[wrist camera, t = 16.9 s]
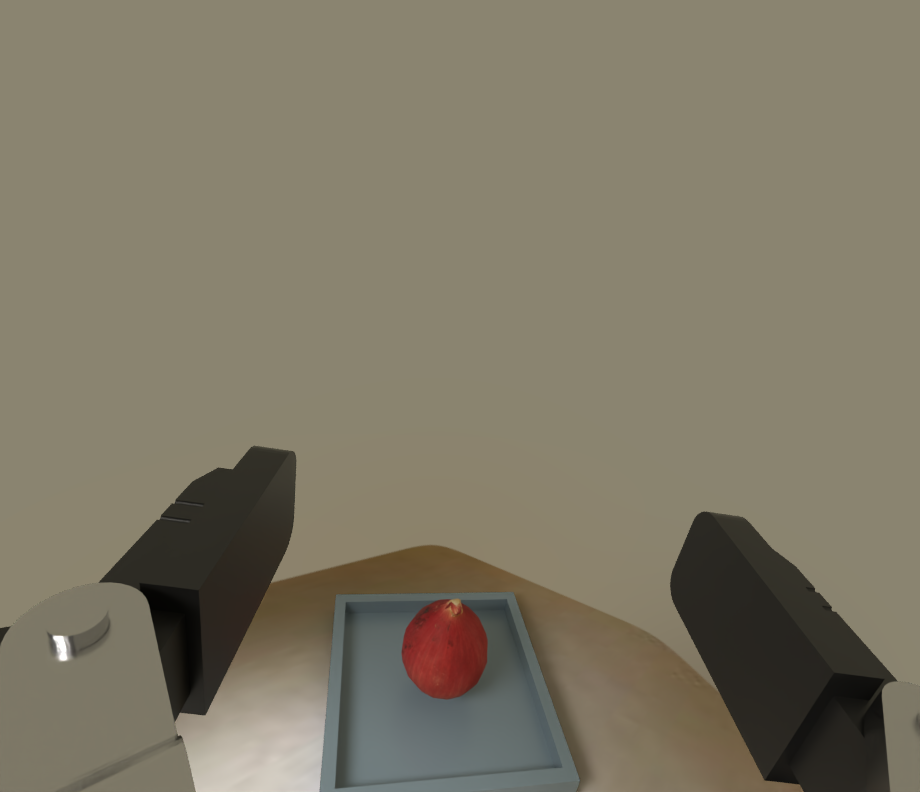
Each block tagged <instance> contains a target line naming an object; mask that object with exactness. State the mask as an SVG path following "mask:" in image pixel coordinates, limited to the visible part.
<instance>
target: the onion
mask: <svg viewBox="0 0 920 792" xmlns="http://www.w3.org/2000/svg"><path fill="white" fill-rule="evenodd" d="M487 647H488V639H487V635H486V632H485V630H484V628H483V626H482V623H481V621H480V619H479V617H478V616H477V615H476V614H475V613H474V612H473V611H472V610H471V609H470V608H469V607H468V606H466V605H464V604H463V603H461V599H452V600H451V599H443V600H437V601H435V602H433V603H431V604H429V605H427V606H425V607H423V608H422V609H421V610H420V611H419V612H418V613H417V614H416V615H415V617H414V618H413V619H412V621H411V622H410V623H409V625H408V626H407V628H406V630H405V634H404V639H403V645H402V652H401V653H402V661H403V664H404V667H405V669H406V672H407V674H408V677H409V678H410V679H411V680H412V681H413V682H414V684H415V685H416V686H417V687H418V688H419V689H420V690H421V691H422V692H423V693H425V694H427V695H429V696H431V697H432V698H438V699H446V700H448V699H452V698H456V697H460V696H462V695H463V694H465V693H466V692H467V691H469V690H470V689H471V688H473V687H474V686H475V685H476V684H477V683H478V681H479V679H480V677H481V675H482V673H483V671H484V669H485V666H486V664H487Z"/></svg>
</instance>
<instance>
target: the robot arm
mask: <svg viewBox="0 0 920 792" xmlns="http://www.w3.org/2000/svg"><path fill="white" fill-rule="evenodd" d="M295 479H296V455H295V453H294V452H293V451H287V450H279V449H273V448H266V447H259V446H253V447H251V448H250V449H249V450H248V452H247V453H246V454H245V455H244V456H243V458H242V459H241V460H240V461H239V463H238V464H237V465H236V466H235V468H234V469H233V470H232V469H224V468H217V469H215V470H213V471H211V472H209V473H208V474H206V475H204V476H202V477H200V478H198V479H196V480H195V481H193V482H192V483H191V484H190V485H189V486H188V487H187V488H186V489H185V490H184V491H183V493H181V495H180V496H179V497H178V498H177V499H176V501H175V504H171V505H170V506H169V507H168V509H167V510H166V511H165V512H164V513H163V514H162V515H161V518H160V520H156V521H155V523H154V524H153V525H152V526H151V527H150V528H149V529H148V530H147V531H146V532H145V533H144V534H143V535H142V536H141V538H140V539H139V540H138V541H137V542H136V543H135V544H134V545H133V546H132V547H131V548H130V549H129V550H128V552H127V553H126V554H125V555H124V556H123V557H122V558H121V559H120V560H119V561H118V562H117V563H116V564H115V566H114V567H113V568H112V569H111V570H110V571H109V572H108V573H107V574H106V575H105V576H104V577H103V578H102V580H101V581H100V582H99V583H94V584H88V585H83V586H78V587H75V588H72V589H69V590H66V591H63V592H61V593H58V594H56V595H53V596H51V597H49V598H48V599H46V600H44V601H42V602H40V603H39V604H37V605H35V606H34V607H33V608H31V609H29V610H28V611H27V612H26V613H24V614H23V615H22V616H21V617H20V618H19V619H18V620H17V621H16V622H15V623H14V624H13V625H12V626H11V627H4V628H0V792H196V791H195V787H194V782H193V778H192V773H191V769H190V765H189V760H188V756H187V752H186V748H185V745H184V742H183V739H182V737H181V736H178V735H177V731H176V727H175V721H176V719H177V717H178V715H179V713H188V714H197V715H206V713H207V711H208V709H209V707H210V705H211V703H212V701H213V699H214V697H215V695H216V693H217V691H218V689H219V687H220V684H221V682H222V680H223V678H224V676H225V674H226V672H227V670H228V668H229V666H230V664H231V662H232V660H233V658H234V656H235V654H236V652H237V650H238V648H239V646H240V644H241V642H242V640H243V638H244V636H245V634H246V631H247V629H248V627H249V625H250V623H251V621H252V619H253V617H254V615H255V613H256V611H257V609H258V607H259V605H260V603H261V601H262V599H263V597H264V595H265V593H266V591H267V589H268V587H269V585H270V583H271V581H272V578H273V576H274V574H275V572H276V570H277V568H278V566H279V564H280V562H281V560H282V558H283V556H284V554H285V552H286V550H287V547H288V544H289V541H290V537H291V533H292V528H293V522H294V503H295ZM670 587H671V596H672V600H673V602H674V604H675V607H676V609H677V611H678V613H679V614H680V617H681V619H682V620H683V622H684V624H685V626H686V628H687V630H688V632H689V634H690V636H691V638H692V640H693V642H694V644H695V645H696V648H697V649H698V652H699V654H700V655H701V657H702V659H703V661H704V663H705V665H706V667H707V669H708V671H709V673H710V675H711V677H712V679H713V681H714V683H715V685H716V687H717V689H718V691H719V693H720V694H721V696H722V698H723V700H724V702H725V704H726V706H727V708H728V710H729V712H730V714H731V716H732V718H733V720H734V722H735V724H736V726H737V728H738V730H739V731H740V733H741V735H742V737H743V739H744V741H745V743H746V745H747V747H748V749H749V751H750V753H751V755H752V757H753V759H754V761H755V763H756V765H757V766H758V768H759V770H760V772H761V774H762V776H763V778H764V780H765V781H774V782H783V783H792V784H800V786H801V787H802V789H803V791H804V792H920V686H918V685H915V684H912V683H907V682H901V681H897V680H896V679H895V678H894V677H893V675H892V674H891V673H890V672H889V671H888V670H887V669H886V667H885V666H884V665H883V664H882V663H881V662H880V661H879V660H878V658H877V657H876V656H875V655H874V654H873V653H872V652H871V651H870V649H868V647H867V646H866V645H865V644H864V643H863V642H862V641H861V639H860V638H859V637H858V636H857V635H856V634H855V633H854V632H853V630H852V629H851V628H850V627H849V626H848V625H847V624H846V623H845V622H844V620H843V619H842V618H841V617H840V616H839V615H838V614H837V612H833V611H832V610H831V608H832V607H831V606H830V605H829V603H828V602H827V601H826V600H825V599H824V598H823V597H822V596H821V594H820V593H817V592H815V588H814V587H813V585H812V584H811V583H810V582H809V581H808V580H807V579H806V578H805V577H804V575H803V574H802V573H801V572H800V571H799V570H798V569H797V567H796V566H794V565H793V564H792V563H790V562H789V561H788V560H786V559H785V558H784V557H783V556H781V555H780V554H779V553H777V552H776V551H774V550H773V549H772V548H771V547H770V546H769V545H768V544H767V542H766V541H765V540H764V539H763V538H762V537H761V536H760V534H759V533H758V532H757V531H756V530H755V529H754V527H753V526H752V525H751V524H750V523H749V522H748V521H747V520H746V519H745V518H743V517H739V516H732V515H725V514H718V513H711V512H701V513H700V514H698V515H697V516H696V517H695V519H694V521H693V523H692V525H691V528H690V530H689V533H688V535H687V538H686V540H685V542H684V545H683V547H682V550H681V552H680V554H679V556H678V559H677V561H676V564H675V566H674V568H673V571H672V575H671V582H670Z"/></svg>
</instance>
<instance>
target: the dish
mask: <svg viewBox="0 0 920 792" xmlns="http://www.w3.org/2000/svg"><path fill="white" fill-rule="evenodd" d="M443 599H451V600H452V599H461V603H463V604H464V605H466V606H468V607H469V608H470V609H471V610H472V611H473V612H474V613H475V614H476V615H477V616H478V617H479V619H480V621H481V623H482V626H483V628H484V630H485V632H486V635H487V639H488V647H487V664H486V666H485V669H484V671H483V673H482V675H481V677H480V679H479V681H478V683H477V684H476V685H475V686H474V687H473V688H471V689H470V690H469V691H467V692H466V693H465V694H463V695H462V696H460V697H456V698H452V699H448V700H446V699H438V698H432V697H431V696H429V695H427V694H425V693H423V692H422V691H421V690H420V689H419V688H418V687H417V686H416V685H415V684H414V682H413V681H412V680H411V679H410V678H409V677H408V674H407V672H406V669H405V667H404V664H403V661H402V653H401V652H402V645H403V639H404V634H405V630H406V628H407V626H408V625H409V623H410V622H411V621H412V619H413V618H414V617H415V615H416V614H417V613H418V612H419V611H420V610H421V609H422V608H423V607H425V606H427V605H429V604H431V603H433V602H435V601H437V600H443ZM579 783H580V779H579V776H578V773H577V770H576V767H575V765H574V762H573V759H572V756H571V753H570V750H569V748H568V745H567V742H566V739H565V736H564V734H563V731H562V728H561V725H560V722H559V720H558V717H557V714H556V711H555V708H554V705H553V703H552V700H551V697H550V694H549V691H548V689H547V686H546V683H545V680H544V677H543V674H542V672H541V669H540V666H539V663H538V660H537V658H536V655H535V652H534V649H533V646H532V643H531V641H530V638H529V635H528V632H527V629H526V627H525V624H524V621H523V618H522V615H521V612H520V610H519V607H518V604H517V601H516V598H515V596H514V593H513V592H487V593H415V594H342V595H336V601H335V613H334V625H333V637H332V649H331V661H330V673H329V685H328V697H327V709H326V721H325V733H324V744H323V756H322V768H321V780H320V792H576V791H577V788H578V785H579Z"/></svg>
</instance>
